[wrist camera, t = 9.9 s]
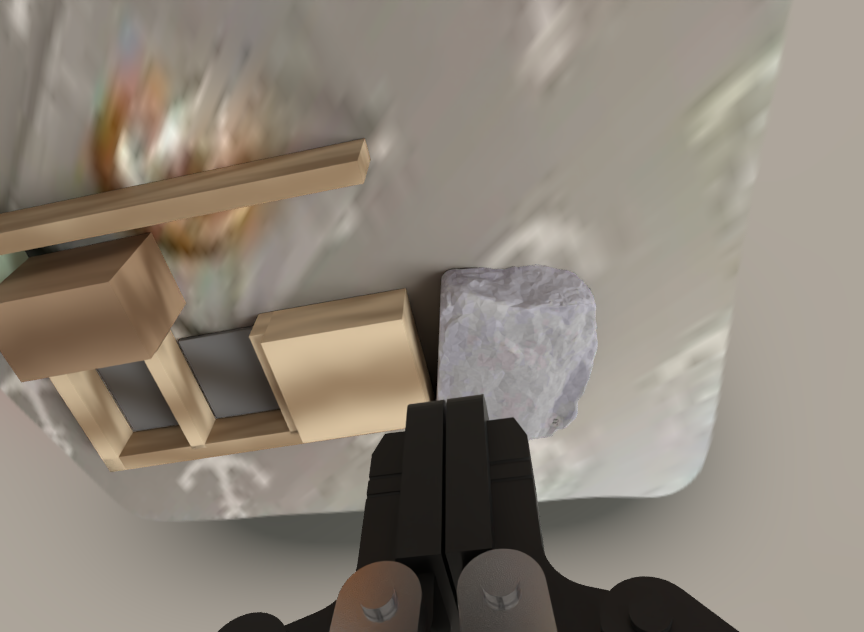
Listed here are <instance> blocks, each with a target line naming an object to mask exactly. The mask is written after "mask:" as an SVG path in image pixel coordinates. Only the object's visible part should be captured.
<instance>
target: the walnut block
mask: <svg viewBox="0 0 864 632" xmlns="http://www.w3.org/2000/svg"><path fill="white" fill-rule="evenodd" d="M185 304H186V302H185V300H184V298H183V296H182V294H181V292H180V290H179V288H178V286H177V284H176V282H175V280H174V278H173V276H172V274H171V272H170V270H169V267H168V265H167V263H166V261H165V259H164V257H163V255H162V253H161V251H160V249H159V247H158V245H157V243H156V241H155V239H154V237H153V235H152V233H146V234H141V235H136V236H131V237H126V238H121V239H116V240H112V241H107V242H102V243H97V244H92V245H87V246H82V247H78V248H73V249H68V250H63V251H58V252H53V253H48V254H44V255H39V256H34V257H29V258H28V259H27V260H26V261H25V262H24V263H23V264H21V265H20V266H19V267H18V268H17V269H16V270H15V271H13V272H12V273H11V274H10V275H9V276H8V277H7V278H6V279H4V280H3V281H2V282H1V283H0V352H1V353H2V355H3V356H4V358H5V359H6V360H7V362H8V363H9V365H10V366H11V368H12V369H13V371H14V372H15V374H16V375H17V376H18V378H19V379H20V381H21V382H26V381H31V380H37V379H42V378H48V377H54V376H59V375H65V374H70V373H76V372H81V371H87V370H93V369H98V368H104V367H109V366H115V365H121V364H126V363H132V362H137V361H143V360H148V359H151V358H152V357H153V355H154V354H155V352H156V350H157V349H158V347H159V346H160V344H161V342H162V341H163V339H164V338H165V336H166V334H167V333H168V331H169V330H170V328H171V327H172V325H173V323H174V322H175V320H176V319H177V317H178V315H179V314H180V312H181V311H182V309H183V307H184V306H185Z"/></svg>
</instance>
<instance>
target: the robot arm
mask: <svg viewBox="0 0 864 632" xmlns="http://www.w3.org/2000/svg"><path fill="white" fill-rule="evenodd" d="M369 478H370V481H368V489H367V499H366V504H365V511H364V519H363V526H362V534H361V542H360V549H359V557H358V564H357V569H356V572H355V573H354V574H352V575H351V576H350V577H349V579H347V581H346V582H345V583H344V585H343V586H342V588H341V590H340V592H339V594H338V597H337V600H336V601H334V602H333V603H332V604H331V605H329V606H327V607H326V608H324V609H322V610H320V611H318V612H316V613H314V614H311V615H309V616H306V617H304V618H302V619H299V620H297V621H295V622H292V623H290V624H287V625H285V626H284V625H283V623H282V622H281V621H280V620H279V619H278V618H277V617H275V616H273V615H271V614H268V613H262V612H257V613H249V614H245V615H243V616H240V617H238V618H236V619H234V620H232V621H230V622H229V623H227V624H226V625H225V626H223V627H222V628H221V629H220V630H219V631H218V632H739V631H737V630H736V629H735V628H733V627H732V626H731V625H729V624H728V623H727V622H725V621H724V620H723V619H721V618H720V617H719V616H717V615H716V614H715V613H713V612H712V611H710V610H709V609H708V608H707V607H705V606H704V605H703V604H701V603H700V602H698V601H697V600H696V599H695V598H693V597H692V596H691V595H689V594H688V593H687V592H685V591H684V590H683V589H681V588H679V587H678V586H676V585H675V584H673V583H671V582H669V581H666V580H663V579H660V578H655V577H634V578H631V579H627V580H624V581H622V582H620V583H618V584H617V585H616V586H614V587H613V588H612V589H611V590H610V591H608V590H604V589H599V588H594V587H589V586H585V585H581V584H578V583H575V582H573V581H571V580H569V579H567V578H565V577H564V576H562V575H561V574H560V573H558V572H557V571H556V570H555V569H554V568H553V567H552V565H551V564H550V563H549V561H548V560H547V558H546V556H545V552H544V545H543V538H542V531H541V523H540V516H539V509H538V501H537V494H536V487H535V481H534V475H533V468H532V462H531V456H530V450H529V443H528V437H527V434H526V433H525V431H524V430H523V429H522V427H521V426H520V425H519V423H518V422H517V421H516V419H515V418H514V417H510V418H503V419H495V420H489V416H488V411H487V406H486V401H485V397H484V394H480V395H473V396H465V397H458V398H450V399H447V402H446V401H445V400H437V401H429V402H422V403H414V404H409V405H408V406H407V414H406V427H405V431H403V432H396V433H388V434H385V435H384V436H383V438H382V439H381V441H380V443H379V444H378V446H377V447H376V449H375V451H374V452H373V454H372V459H371V466H370V474H369Z"/></svg>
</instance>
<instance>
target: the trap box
mask: <svg viewBox="0 0 864 632" xmlns="http://www.w3.org/2000/svg"><path fill="white" fill-rule="evenodd" d="M370 160H371V159H370V155H369V152H368V148H367V144H366V141H365V138H364V139H359V140H354V141H349V142H345V143H340V144H335V145H330V146H325V147H320V148H316V149H311V150H306V151H301V152H296V153H292V154H287V155H282V156H277V157H272V158H267V159H263V160H258V161H253V162H248V163H243V164H238V165H234V166H229V167H224V168H219V169H214V170H210V171H205V172H200V173H195V174H190V175H185V176H181V177H176V178H171V179H166V180H161V181H156V182H152V183H147V184H142V185H137V186H132V187H128V188H123V189H118V190H113V191H108V192H103V193H99V194H94V195H89V196H84V197H79V198H75V199H70V200H65V201H60V202H55V203H50V204H46V205H41V206H36V207H31V208H26V209H21V210H17V211H12V212H7V213H2V214H0V283H1V282H2V281H3V280H4V279H6V278H7V277H8V276H9V275H10V274H11V273H12V272H13V271H15V270H16V269H17V268H18V267H19V266H20V265H21V264H23V263H24V262H25V261H26V260H27V259H28V258H29V257H28V256H27V254H26V252H25V250H30V249H35V248H40V247H45V246H50V245H55V244H60V243H65V242H70V241H75V240H80V239H85V238H90V237H95V236H101V235H106V234H111V233H116V232H121V231H126V230H131V229H136V228H141V227H146V226H151V225H156V224H161V223H166V222H171V221H176V220H181V219H186V218H191V217H196V216H201V215H206V214H211V213H216V212H221V211H227V210H232V209H237V208H242V207H247V206H252V205H257V204H262V203H267V202H272V201H277V200H282V199H287V198H292V197H297V196H302V195H307V194H312V193H317V192H322V191H327V190H332V189H337V188H342V187H348V186H353V185H358V184H363V183H364V181H365V177H366V174H367V170H368V167H369V163H370ZM178 342H179V344H180V346H181V348H182V350H183V352H184V354H185V356H186V358H187V360H188V362H189V364H190V366H191V368H192V370H193V372H194V374H195V376H196V378H197V380H198V382H199V384H200V386H201V388H202V390H203V392H204V394H205V396H206V398H207V400H208V402H209V404H210V406H211V408H212V410H213V412H214V414H215V416H216V418H221V419H215V417H214V415H213V413H212V411H211V409H210V407H209V405H208V403H207V401H206V399H205V397H204V395H203V393H202V391H201V389H200V387H199V385H198V383H197V381H196V379H195V377H194V375H193V373H192V371H191V369H190V367H189V365H188V363H187V361H186V359H185V357H184V355H183V353H182V351H181V350H180V348H179V346H178V344H177V342H176V340H175V338H174V336H173V334H172V332H171V330H169V331H168V333H167V334H166V336H165V338H164V339H163V341H162V342H161V344H160V346H159V347H158V349H157V350H156V352H155V354H154V355H153V357H152V358H151V359H148V360H143V361H137V362H132V363H126V364H121V365H115V366H109V367H104V368H98V370H99V372H100V374H101V375H102V377H103V379H104V380H105V382H106V384H107V386H108V387H109V389H110V391H111V392H112V394H113V396H114V397H115V399H116V401H117V402H118V404H119V406H120V407H121V409H122V411H123V412H124V414H125V416H126V417H127V419H128V421H129V422H130V424H131V426H132V428H133V429H134V431H137V432H133V431H132V430H131V428H130V426H129V425H128V423H127V421H126V420H125V418H124V416H123V415H122V413H121V411H120V410H119V408H118V406H117V405H116V403H115V401H114V400H113V398H112V396H111V395H110V393H109V391H108V390H107V388H106V386H105V384H104V383H103V381H102V379H101V378H100V376H99V374H98V373H97V371H96V369H93V370H87V371H81V372H76V373H70V374H65V375H59V376H54V377H49V378H50V380H51V381H52V383H53V384H54V386H55V387H56V389H57V390H58V392H59V393H60V395H61V397H62V398H63V400H64V401H65V403H66V404H67V406H68V407H69V409H70V410H71V412H72V413H73V415H74V417H75V418H76V420H77V421H78V423H79V424H80V426H81V427H82V429H83V430H84V432H85V434H86V435H87V437H88V438H89V440H90V441H91V443H92V444H93V446H94V447H95V449H96V450H97V452H98V454H99V455H100V457H101V458H102V460H103V461H104V463H105V464H106V466H107V467H108V469H109V471H110V472H114V471H121V470H128V469H134V468H141V467H148V466H155V465H162V464H168V463H175V462H182V461H189V460H195V459H202V458H209V457H216V456H222V455H229V454H236V453H243V452H250V451H256V450H263V449H270V448H277V447H283V446H290V445H297V444H304V443H310V442H317V441H324V440H331V439H338V438H344V437H351V436H358V435H365V434H371V433H378V432H385V431H392V430H399V429H405V427H406V414H407V406H408V405H409V404H414V403H422V402H429V401H436V398H435V394H434V391H433V387H432V383H431V380H430V376H429V372H428V369H427V365H426V361H425V358H424V354H423V350H422V347H421V343H420V339H419V336H418V332H417V328H416V325H415V321H414V317H413V314H412V310H411V306H410V303H409V299H408V295H407V291H406V288H404V289H398V290H393V291H387V292H381V293H376V294H370V295H364V296H358V297H353V298H347V299H341V300H336V301H330V302H324V303H319V304H313V305H307V306H302V307H296V308H290V309H284V310H279V311H273V312H267V313H262V314H259V315H258V317H257V319H256V321H255V324H254V326H251V327H246V328H240V329H234V330H228V331H222V332H217V333H211V334H205V335H199V336H194V337H188V338H182V339H179V341H178ZM274 409H279V410H274ZM267 410H272V411H267ZM261 411H266V412H261ZM254 412H260V413H254ZM248 413H253V414H248ZM242 414H247V415H242ZM235 415H240V416H235ZM229 416H234V417H229ZM222 417H227V418H222ZM177 424H179V425H177ZM171 425H176V426H171ZM164 426H170V427H164ZM158 427H163V428H158ZM152 428H157V429H152ZM145 429H150V430H145ZM139 430H144V431H139Z"/></svg>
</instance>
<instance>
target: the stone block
mask: <svg viewBox="0 0 864 632" xmlns="http://www.w3.org/2000/svg"><path fill="white" fill-rule="evenodd" d="M595 311H596V303H595V301H594V296H593V294H592V292H591V289H590V288H589V287H587V285H586V284H585V283H584V282H583V280H581V279H580V278H579V277H578V276H577V275H576V274H575V273H574V272H571V271H568V270H560V269H555V268H551V267H548V266H542V265H537V264H535V265H531V266H523V267H515V266H514V267H510V268H507V269H491V268H468V269H451V270H448V271H446V272H445V273H444V274H443V276H442V278H441V297H440V322H439V324H440V326H439V348H438V375H437V396H436V401H437V400H445V401H446V402H447V399H450V398H458V397H465V396H473V395H480V394H484V397H485V401H486V406H487V411H488V416H489V420H495V419H503V418H510V417H514V418H515V419H516V421H517V422H518V423H519V425H520V426H521V427H522V429H523V430H524V431H525V433H526V434H527V437H528V440H532V439H539V438H545V437H550V436H553V434H554V433H555V432H556V431H557V430H558V429H564V428H566V427H567V426H568V425H569V424H570V423H571V422H572V421H573V420H574V419H575V418H576V416H577V414H578V400H579V398H580V397H581V396H582V395H583V394H584V391H585V389H586V386H587V383H588V381H589V378H590V375H591V371H592V367H593V360H594V357H595V354H596V351H597V345H598V341H597V334H596V331H595V330H596V329H597V324H596V321H595Z"/></svg>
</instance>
